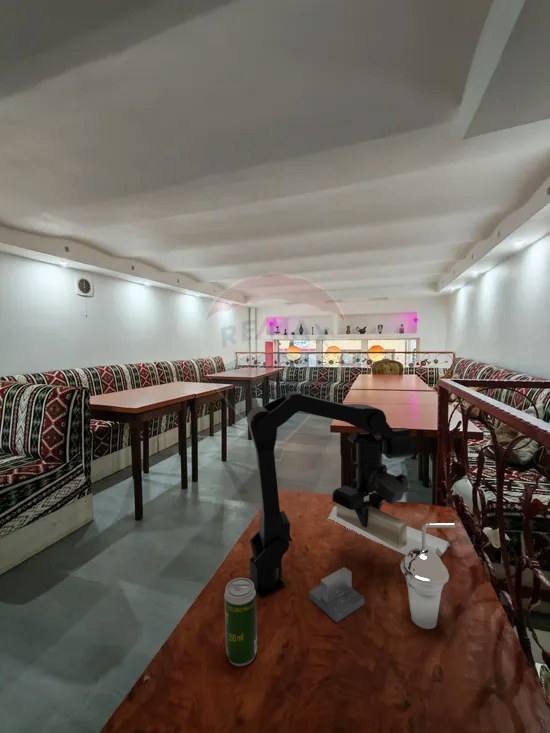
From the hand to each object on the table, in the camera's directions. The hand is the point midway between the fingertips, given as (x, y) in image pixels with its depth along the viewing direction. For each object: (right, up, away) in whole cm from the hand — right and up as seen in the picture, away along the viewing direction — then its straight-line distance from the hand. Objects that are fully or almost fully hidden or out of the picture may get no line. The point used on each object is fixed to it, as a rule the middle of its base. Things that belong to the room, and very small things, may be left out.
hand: (368, 524), depth 81 cm
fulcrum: (-9, -12, -10) cm, 18 cm away
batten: (0, -1, 0) cm, 1 cm away
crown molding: (+9, -11, +17) cm, 22 cm away
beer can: (-28, -13, -21) cm, 37 cm away
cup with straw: (+7, -12, -15) cm, 20 cm away
